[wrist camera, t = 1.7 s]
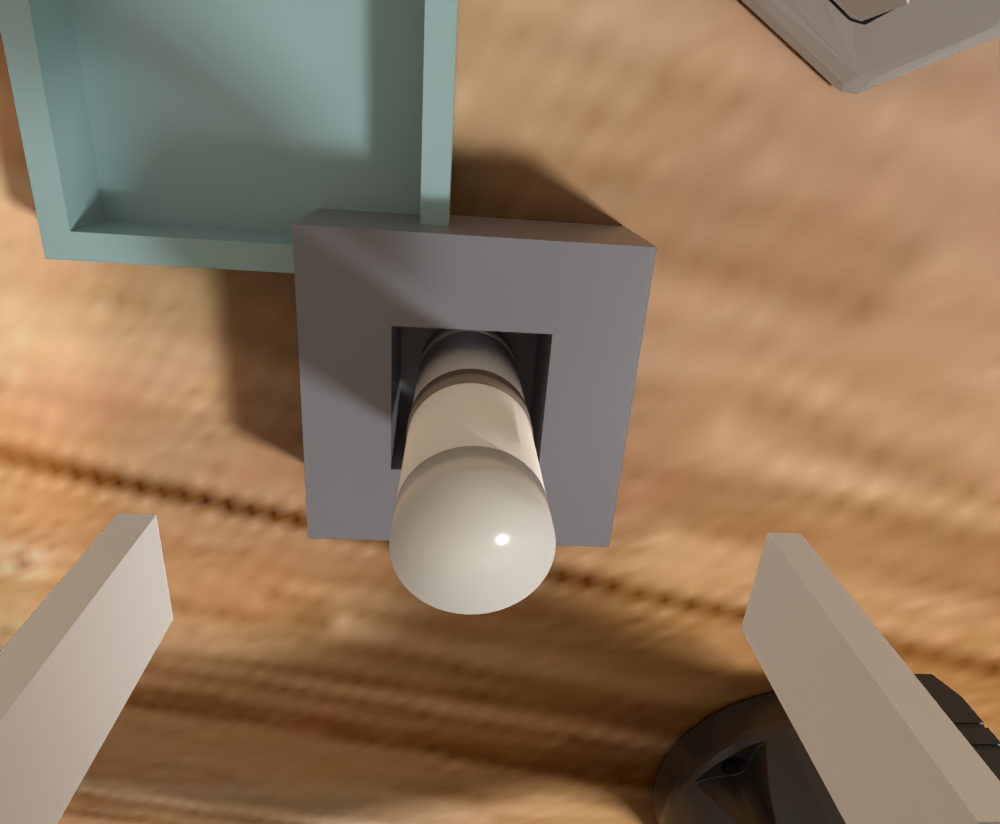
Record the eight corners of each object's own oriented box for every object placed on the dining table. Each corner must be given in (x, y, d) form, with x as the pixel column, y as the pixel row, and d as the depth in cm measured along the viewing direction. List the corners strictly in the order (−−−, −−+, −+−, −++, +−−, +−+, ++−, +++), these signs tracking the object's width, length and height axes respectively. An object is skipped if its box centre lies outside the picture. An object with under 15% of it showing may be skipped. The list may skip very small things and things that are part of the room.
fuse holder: (593, 485, 32) (614, 547, 27) (331, 476, 31) (308, 538, 26) (629, 226, 27) (663, 247, 22) (321, 206, 26) (291, 224, 22)
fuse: (512, 414, 29) (549, 617, 17) (417, 410, 29) (386, 614, 17) (520, 322, 27) (566, 476, 15) (419, 317, 27) (387, 469, 15)
